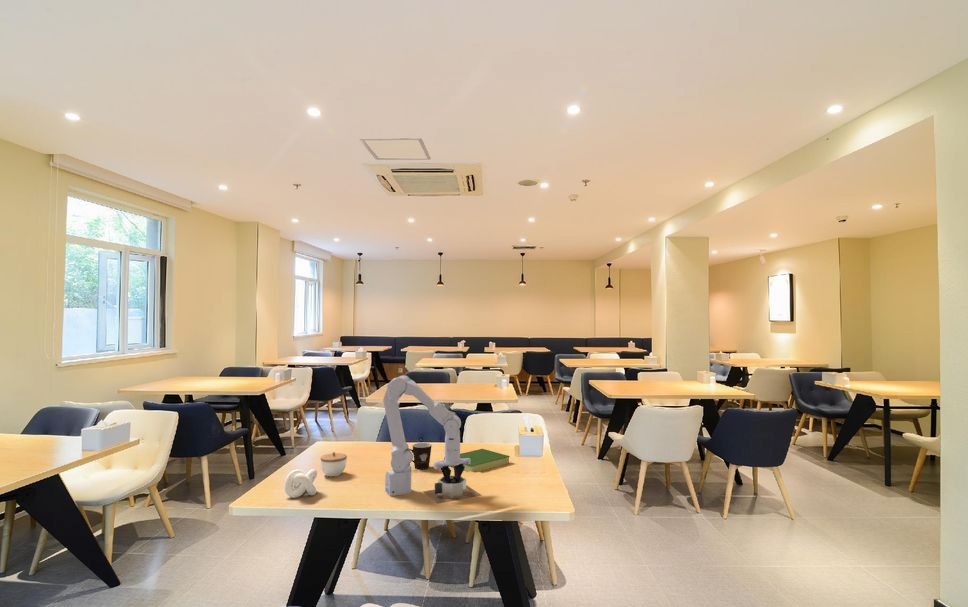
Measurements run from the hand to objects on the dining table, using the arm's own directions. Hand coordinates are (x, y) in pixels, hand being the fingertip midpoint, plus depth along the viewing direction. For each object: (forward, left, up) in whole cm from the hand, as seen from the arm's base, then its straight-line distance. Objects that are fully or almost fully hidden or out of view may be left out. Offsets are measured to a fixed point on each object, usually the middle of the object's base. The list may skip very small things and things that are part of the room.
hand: (452, 485), depth 178 cm
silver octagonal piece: (-1, 0, -3) cm, 3 cm away
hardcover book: (+28, +33, -4) cm, 44 cm away
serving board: (0, 0, -4) cm, 4 cm away
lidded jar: (-34, +47, -4) cm, 58 cm away
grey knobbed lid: (0, 0, -2) cm, 2 cm away
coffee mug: (+2, +40, -4) cm, 40 cm away
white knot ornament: (-50, +27, -4) cm, 57 cm away
